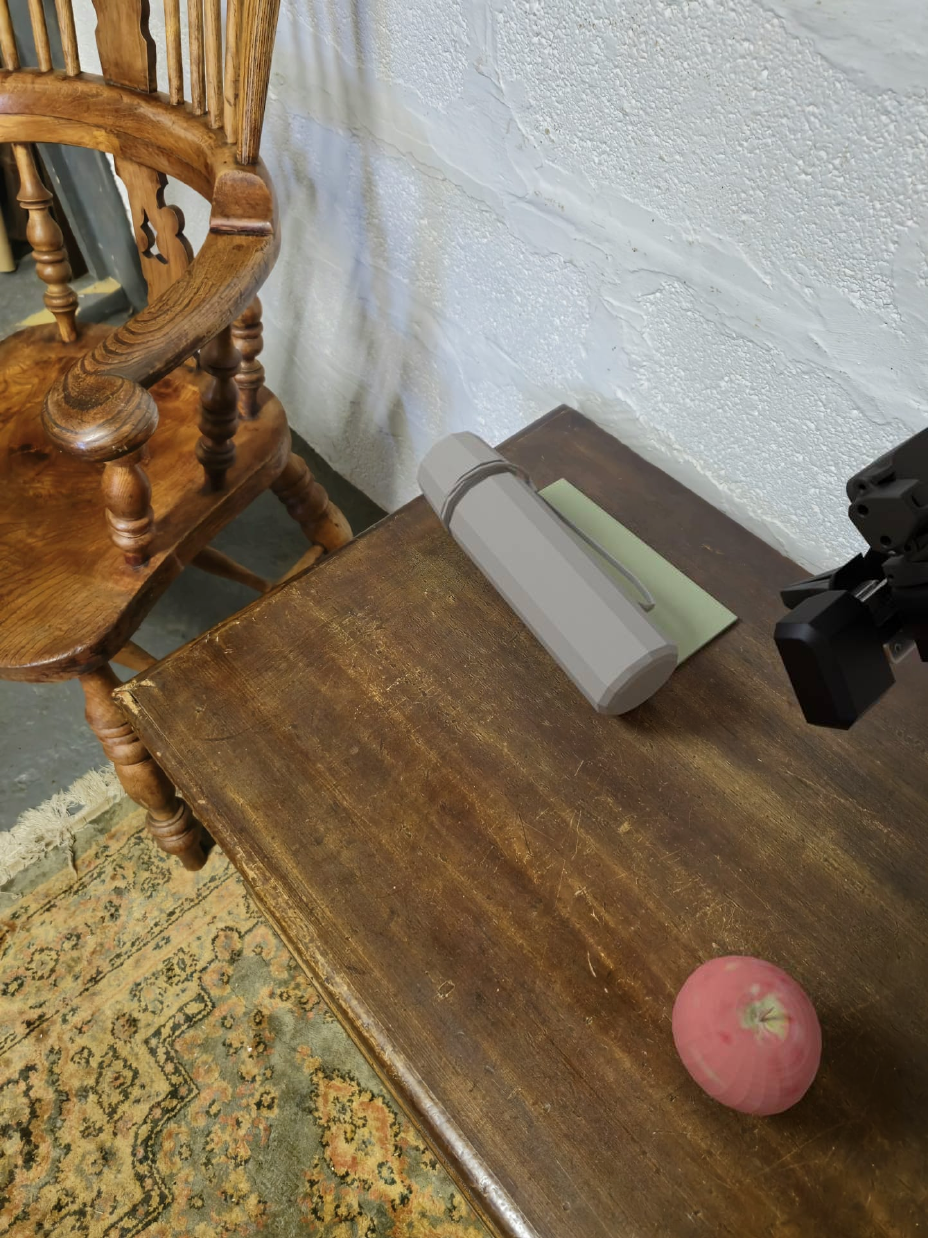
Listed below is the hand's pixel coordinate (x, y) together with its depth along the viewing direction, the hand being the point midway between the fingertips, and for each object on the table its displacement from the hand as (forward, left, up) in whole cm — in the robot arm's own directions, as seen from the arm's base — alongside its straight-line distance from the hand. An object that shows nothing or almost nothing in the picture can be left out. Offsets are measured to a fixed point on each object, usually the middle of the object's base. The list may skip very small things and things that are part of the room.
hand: (785, 596), depth 53 cm
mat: (+12, -7, -12) cm, 19 cm away
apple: (-3, +24, -12) cm, 27 cm away
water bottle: (+6, +4, -8) cm, 11 cm away
